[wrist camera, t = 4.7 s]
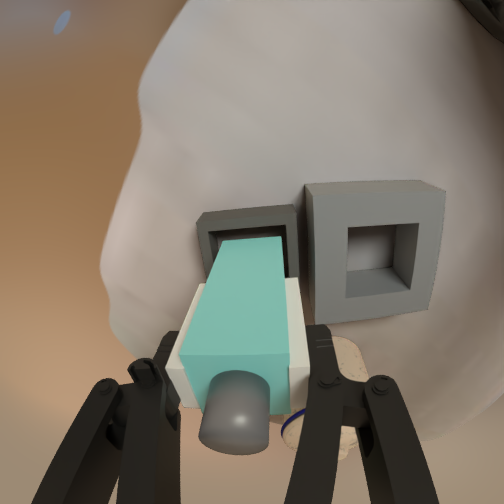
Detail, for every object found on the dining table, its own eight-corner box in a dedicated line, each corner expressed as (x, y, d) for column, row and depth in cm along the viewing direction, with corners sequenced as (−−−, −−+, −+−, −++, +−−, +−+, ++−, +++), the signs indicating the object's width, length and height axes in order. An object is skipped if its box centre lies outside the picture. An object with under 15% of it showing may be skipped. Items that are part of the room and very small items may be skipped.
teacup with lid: (307, 320, 26) (323, 426, 15) (378, 345, 27) (412, 434, 16) (254, 391, 31) (248, 479, 20) (319, 407, 32) (328, 486, 21)
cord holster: (292, 204, 22) (296, 213, 19) (297, 283, 24) (300, 299, 22) (203, 212, 22) (195, 222, 20) (217, 289, 25) (212, 305, 23)
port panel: (420, 180, 20) (445, 191, 16) (410, 285, 24) (427, 309, 20) (304, 184, 21) (312, 195, 17) (309, 297, 25) (315, 325, 21)
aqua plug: (281, 236, 19) (292, 411, 7) (284, 286, 21) (292, 461, 9) (222, 240, 20) (159, 407, 7) (231, 290, 21) (192, 458, 9)
